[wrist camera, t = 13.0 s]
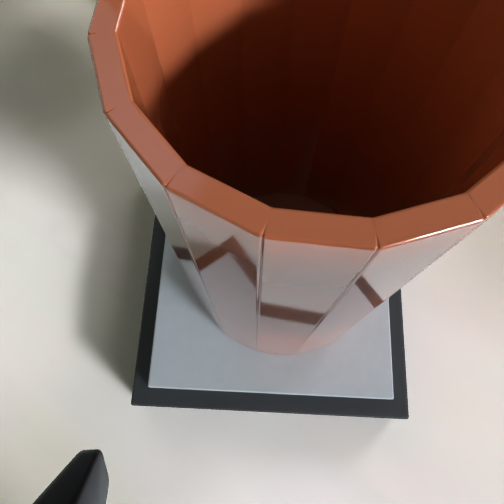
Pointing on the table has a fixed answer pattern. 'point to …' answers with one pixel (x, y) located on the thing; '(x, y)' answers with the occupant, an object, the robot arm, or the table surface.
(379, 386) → the scale
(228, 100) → the cup
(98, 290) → the table surface
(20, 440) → the table surface
